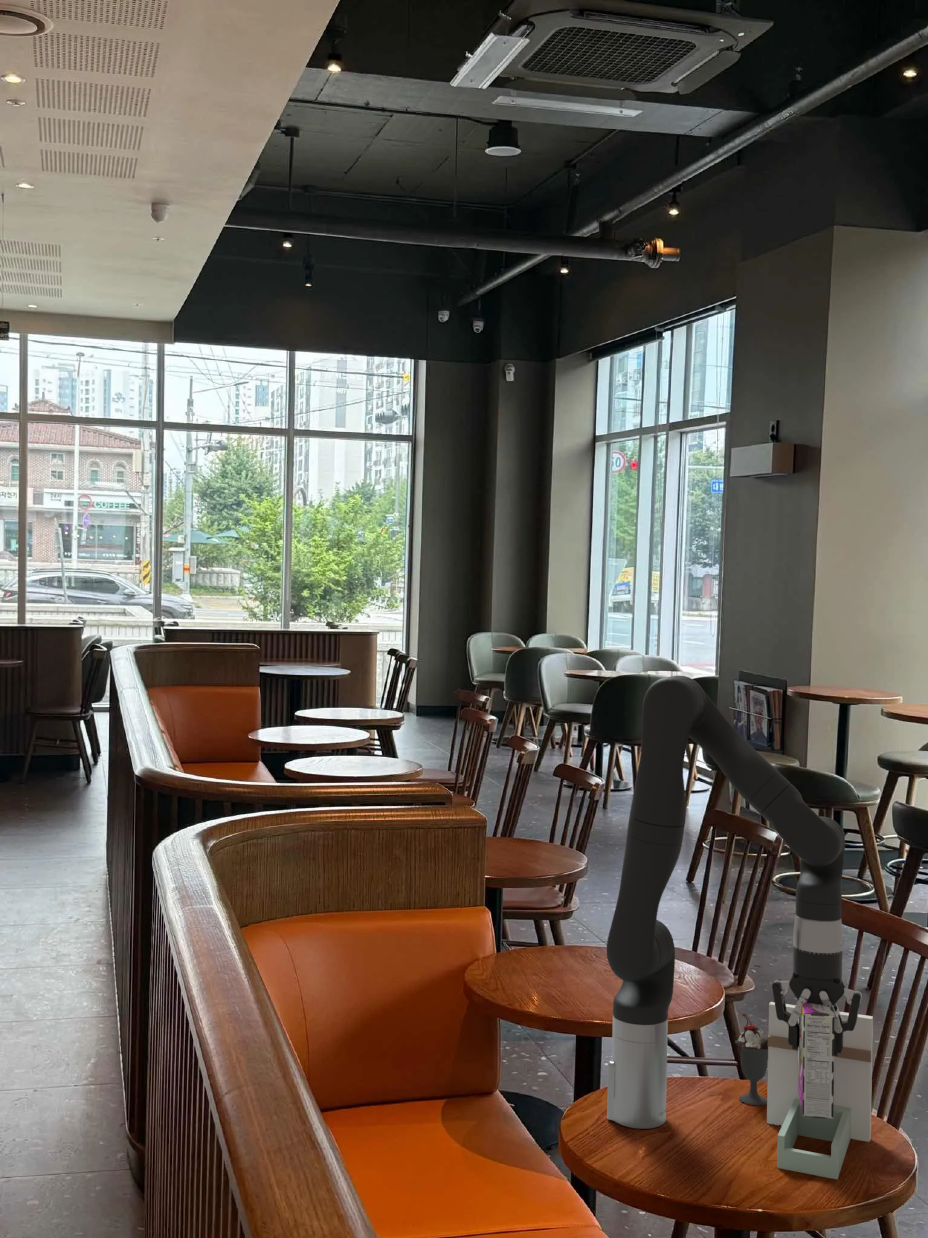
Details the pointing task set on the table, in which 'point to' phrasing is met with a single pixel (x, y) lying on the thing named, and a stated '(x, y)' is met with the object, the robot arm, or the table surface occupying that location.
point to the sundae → (753, 1061)
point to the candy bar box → (816, 1061)
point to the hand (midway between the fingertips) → (815, 1051)
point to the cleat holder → (848, 1098)
